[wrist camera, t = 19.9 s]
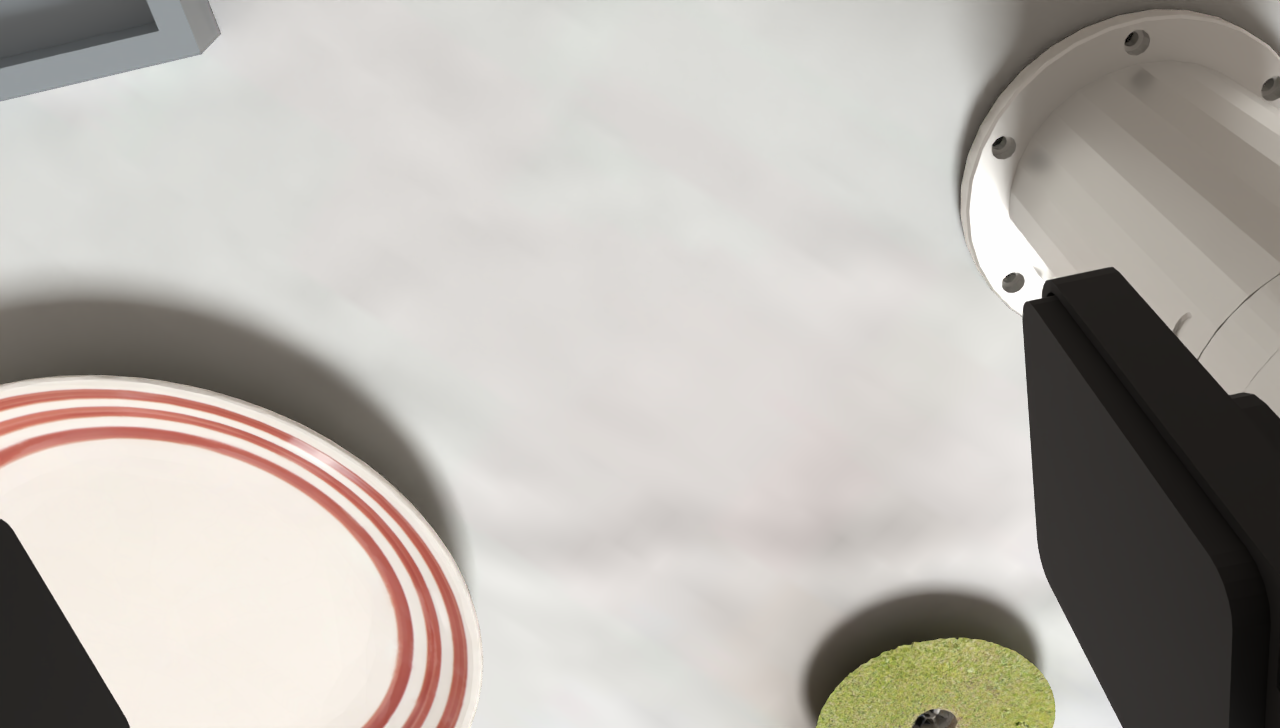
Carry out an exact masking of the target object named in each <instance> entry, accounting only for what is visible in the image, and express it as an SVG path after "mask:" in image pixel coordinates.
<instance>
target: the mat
mask: <svg viewBox="0 0 1280 728" xmlns="http://www.w3.org/2000/svg"><path fill="white" fill-rule="evenodd" d="M1050 688H1051V687H1050V686H1049V684H1048V681H1047V680H1046V679H1045V677H1044V676H1043V674H1042V673H1041V672H1040V670H1038V669H1037V667H1036V666H1035V665H1034V664H1033V663H1030V662H1029V660H1028V659H1026V658H1024V656H1022V655H1020V654H1019V653H1017V652H1016V651H1014V650H1011V649H1009V648H1006V647H1003V646H1000V645H999V644H995V643H992V642H987V641H985V640H981V639H969V638H965V637H963V638H961V637H959V638H958V640H957V639H956V638H948V639H942V638H939V639H936V640H931V641H922V642H912V643H911V645H902V646H898V647H897V648H896V649H894V650H893V649H891V650H890V651H884V652H883V653H881V654H880V656H878V657H876V658H872V659H870V660H869V661H868V662H867V663H865V664H862V665H860V666H859V667H858V668H857V669H856V670H854V671H853V672H852V673H849V675H848V677H845V679H844V680H843V681H842V682H841V683H840V684H839V685H838V686H837V687H836V688H835V690H834V692H833V693H832V694H831V695H830V696H829V698H828V699H827V701H826V703H825V705H824V707H823V708H822V710H821V713H820V715H819V719H818V722H817V726H816V728H1052V727H1053V724H1054V720H1055V701H1054V697H1053V693H1052V690H1051V689H1050Z"/></svg>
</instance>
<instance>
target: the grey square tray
mask: <svg viewBox="0 0 1280 728" xmlns="http://www.w3.org/2000/svg"><path fill="white" fill-rule="evenodd" d="M220 34H221V33H220V31H219V28H218V25H217V23H216V20H215V18H214V15H213V13H212V10H211V8H210V5H209V2H208V0H0V101H4V100H8V99H13V98H17V97H21V96H26V95H30V94H34V93H38V92H43V91H47V90H51V89H55V88H60V87H64V86H68V85H72V84H77V83H81V82H85V81H89V80H94V79H98V78H102V77H106V76H111V75H115V74H119V73H124V72H128V71H132V70H136V69H141V68H145V67H149V66H153V65H158V64H162V63H166V62H170V61H175V60H179V59H183V58H187V57H192V56H196V55H200V54H202V53H203V52H204V51H205V50H206V49H207V48H208V47H209V46H210V45H211V44H212V43H213V42H214V40H215V39H216V38H217V37H218V36H219V35H220Z"/></svg>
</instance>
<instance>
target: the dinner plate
mask: <svg viewBox="0 0 1280 728" xmlns="http://www.w3.org/2000/svg"><path fill="white" fill-rule="evenodd" d="M0 519H2V520H4V521H5V522H7V523H8V524H9V525H10V527H11V528H12V529H13V531H14V532H15V534H16V535H17V537H18V539H19V540H20V542H21V544H22V545H23V547H24V549H25V550H26V552H27V554H28V555H29V557H30V559H31V560H32V562H33V564H34V565H35V567H36V569H37V570H38V572H39V574H40V575H41V577H42V579H43V580H44V582H45V584H46V585H47V587H48V589H49V590H50V592H51V594H52V595H53V597H54V599H55V600H56V602H57V604H58V605H59V607H60V609H61V610H62V612H63V614H64V615H65V617H66V619H67V620H68V622H69V624H70V625H71V627H72V629H73V630H74V632H75V634H76V635H77V637H78V639H79V640H80V642H81V644H82V645H83V647H84V649H85V650H86V652H87V654H88V655H89V657H90V659H91V660H92V662H93V664H94V665H95V667H96V669H97V670H98V672H99V674H100V675H101V677H102V679H103V680H104V682H105V684H106V685H107V687H108V689H109V690H110V692H111V694H112V695H113V697H114V699H115V700H116V702H117V704H118V705H119V707H120V709H121V710H122V712H123V714H124V715H125V717H126V719H127V721H128V723H129V725H130V728H470V726H471V724H472V721H473V719H474V716H475V713H476V709H477V706H478V702H479V696H480V691H481V686H482V675H483V652H482V641H481V634H480V627H479V623H478V619H477V615H476V611H475V608H474V605H473V602H472V599H471V596H470V593H469V590H468V587H467V585H466V582H465V580H464V578H463V576H462V574H461V572H460V570H459V568H458V566H457V564H456V562H455V560H454V559H453V557H452V555H451V554H450V552H449V550H448V549H447V547H446V546H445V545H444V543H443V542H442V540H441V539H440V537H439V536H438V535H437V533H436V532H435V531H434V529H433V528H432V527H431V526H430V524H429V523H428V522H427V521H426V520H425V518H424V517H423V516H422V515H421V513H420V512H419V511H418V510H417V509H416V508H415V507H414V506H413V504H412V503H411V502H410V501H409V500H408V499H407V498H406V497H405V496H403V495H402V494H401V493H400V492H399V491H398V490H397V489H396V488H395V487H394V486H393V485H392V484H391V483H390V482H388V481H387V480H386V479H385V478H384V477H382V476H381V475H380V474H379V473H377V472H376V471H375V470H374V469H373V468H371V467H370V466H369V465H368V464H366V463H365V462H363V461H362V460H360V459H359V458H357V457H356V456H354V455H353V454H351V453H350V452H348V451H347V450H345V449H344V448H342V447H341V446H339V445H338V444H336V443H335V442H333V441H332V440H330V439H328V438H326V437H325V436H323V435H321V434H319V433H317V432H315V431H314V430H312V429H310V428H308V427H306V426H304V425H303V424H300V423H298V422H296V421H294V420H291V419H289V418H287V417H285V416H282V415H280V414H278V413H275V412H273V411H271V410H268V409H266V408H263V407H260V406H257V405H255V404H252V403H249V402H246V401H243V400H240V399H237V398H234V397H231V396H228V395H224V394H221V393H218V392H214V391H211V390H207V389H202V388H198V387H193V386H189V385H184V384H178V383H173V382H168V381H162V380H155V379H147V378H138V377H124V376H110V375H71V376H54V377H44V378H35V379H27V380H22V381H16V382H11V383H5V384H0Z"/></svg>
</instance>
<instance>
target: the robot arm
mask: <svg viewBox="0 0 1280 728" xmlns="http://www.w3.org/2000/svg"><path fill="white" fill-rule="evenodd" d="M1132 32H1133V33H1134V34H1133V38H1132V39H1131V40H1130V41H1129V42H1126V43H1125V39H1126V38H1127V37H1128V35H1129V34H1130V33H1132ZM1266 81H1267V83H1266V84H1265V85H1264V86H1263V84H1264V83H1265V82H1266ZM1002 136H1003V139H1002V141H1001V143H1000V144H998V145H992V144H993V143H994V142H995V141H996V139H998V138H1000V137H1002ZM961 221H962V226H963V231H964V236H965V241H966V245H967V247H968V250H969V252H970V254H971V256H972V258H973V261H974V263H975V265H976V267H977V269H978V271H979V272H980V274H981V275H982V277H983V278H984V279H985V281H986V283H987V284H988V286H989V287H990V289H991V290H992V291H993V292H994V293H995V294H996V295H997V296H998V297H999V298H1000V299H1001V300H1002V301H1003V303H1004V304H1005V305H1006V306H1007V307H1008V308H1009V309H1011V310H1012V311H1014V312H1015V313H1017V314H1018V315H1020V316H1021V317H1023V334H1024V349H1025V364H1026V379H1027V394H1028V409H1029V424H1030V439H1031V454H1032V469H1033V484H1034V499H1035V514H1036V529H1037V541H1038V549H1039V554H1040V559H1041V562H1042V566H1043V569H1044V572H1045V575H1046V578H1047V580H1048V582H1049V584H1050V586H1051V588H1052V590H1053V592H1054V594H1055V596H1056V598H1057V600H1058V602H1059V604H1060V606H1061V608H1062V610H1063V612H1064V614H1065V616H1066V618H1067V620H1068V622H1069V624H1070V625H1071V627H1072V629H1073V631H1074V633H1075V635H1076V637H1077V639H1078V641H1079V643H1080V645H1081V647H1082V649H1083V651H1084V653H1085V655H1086V657H1087V659H1088V661H1089V663H1090V665H1091V667H1092V668H1093V670H1094V672H1095V674H1096V676H1097V678H1098V680H1099V682H1100V684H1101V686H1102V688H1103V690H1104V692H1105V694H1106V696H1107V698H1108V700H1109V702H1110V704H1111V706H1112V708H1113V710H1114V711H1115V713H1116V715H1117V717H1118V719H1119V721H1120V723H1121V725H1122V727H1123V728H1280V56H1279V55H1278V54H1277V53H1276V52H1275V51H1274V50H1273V49H1272V48H1271V47H1270V46H1269V45H1268V44H1266V43H1265V42H1263V41H1262V40H1260V39H1259V38H1257V37H1255V36H1254V35H1252V34H1251V33H1249V32H1248V31H1246V30H1244V29H1243V28H1240V27H1238V26H1236V25H1234V24H1232V23H1230V22H1228V21H1225V20H1223V19H1221V18H1219V17H1216V16H1212V15H1207V14H1203V13H1198V12H1194V11H1189V10H1163V9H1152V10H1146V11H1140V12H1135V13H1129V14H1124V15H1118V16H1115V17H1112V18H1110V19H1107V20H1104V21H1101V22H1099V23H1096V24H1093V25H1091V26H1088V27H1085V28H1083V29H1081V30H1079V31H1078V32H1076V33H1074V34H1072V35H1071V36H1069V37H1067V38H1065V39H1064V40H1062V41H1060V42H1058V43H1056V44H1055V45H1053V46H1051V47H1050V48H1049V49H1048V50H1046V51H1045V52H1044V53H1043V54H1041V55H1040V56H1039V57H1038V58H1036V59H1035V60H1034V61H1033V62H1032V63H1030V64H1029V65H1028V66H1027V67H1025V68H1024V69H1023V70H1022V71H1021V72H1020V73H1019V74H1018V75H1017V77H1016V78H1015V79H1014V80H1013V81H1012V82H1011V83H1010V84H1009V86H1008V87H1007V88H1006V89H1005V90H1004V91H1003V92H1002V93H1001V94H1000V96H999V97H998V98H997V100H996V102H995V103H994V105H993V106H992V108H991V109H990V111H989V113H988V114H987V116H986V117H985V119H984V120H983V122H982V124H981V125H980V127H979V130H978V132H977V135H976V137H975V139H974V142H973V144H972V147H971V149H970V151H969V154H968V156H967V161H966V166H965V170H964V175H963V180H962V184H961ZM1010 273H1011V275H1010V276H1008V277H1006V278H1005V276H1006V275H1008V274H1010ZM0 728H130V725H129V723H128V721H127V719H126V717H125V715H124V714H123V712H122V710H121V709H120V707H119V705H118V704H117V702H116V700H115V699H114V697H113V695H112V694H111V692H110V690H109V689H108V687H107V685H106V684H105V682H104V680H103V679H102V677H101V675H100V674H99V672H98V670H97V669H96V667H95V665H94V664H93V662H92V660H91V659H90V657H89V655H88V654H87V652H86V650H85V649H84V647H83V645H82V644H81V642H80V640H79V639H78V637H77V635H76V634H75V632H74V630H73V629H72V627H71V625H70V624H69V622H68V620H67V619H66V617H65V615H64V614H63V612H62V610H61V609H60V607H59V605H58V604H57V602H56V600H55V599H54V597H53V595H52V594H51V592H50V590H49V589H48V587H47V585H46V584H45V582H44V580H43V579H42V577H41V575H40V574H39V572H38V570H37V569H36V567H35V565H34V564H33V562H32V560H31V559H30V557H29V555H28V554H27V552H26V550H25V549H24V547H23V545H22V544H21V542H20V540H19V539H18V537H17V535H16V534H15V532H14V531H13V529H12V528H11V527H10V525H9V524H8V523H7V522H5V521H4V520H2V519H0Z"/></svg>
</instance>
